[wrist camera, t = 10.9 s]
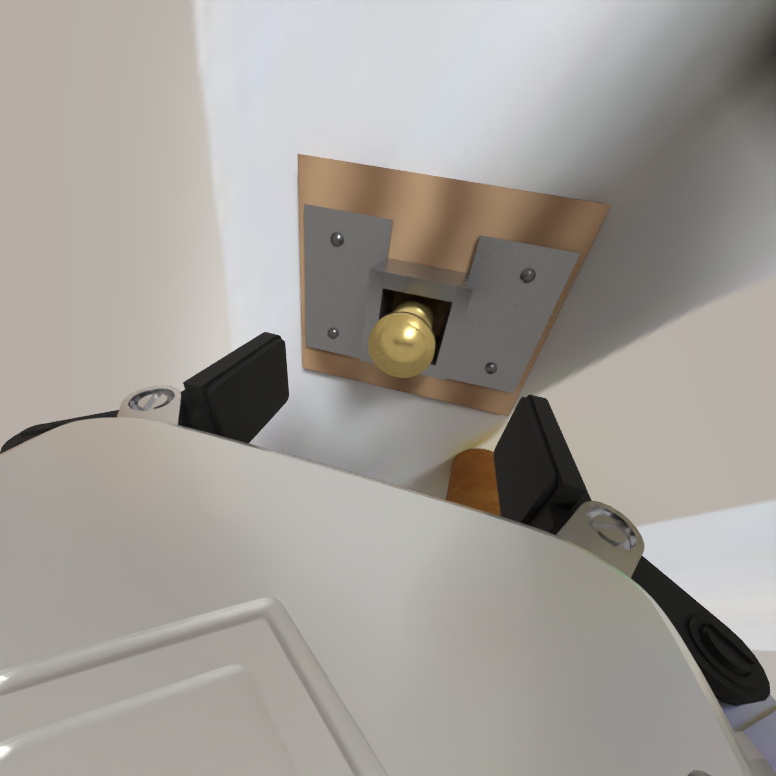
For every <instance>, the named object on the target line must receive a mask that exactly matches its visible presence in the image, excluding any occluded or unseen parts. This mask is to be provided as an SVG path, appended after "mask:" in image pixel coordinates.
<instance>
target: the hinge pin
mask: <svg viewBox="0 0 776 776" xmlns="http://www.w3.org/2000/svg"><path fill="white" fill-rule="evenodd" d="M436 308H437V301H436V299H434V298H429V297H424V296H419V295H414V294H409V293H406V294H405V296H404V297H403V299H402V300H401V302H400V303H399V304H398V306H397V307H396V309H395V310H394V312H393V313H390V314H388V315H386V316H384V317H383V318H381V319H380V320H379V321H378V322H377V323H376V325H375V326H374V327H373V329H372V331H371V333H370V335H369V340H368V349H369V353H370V356H371V358H372V360H373V362H374V363H375V365H376V366H377V367H378V368H379V369H380V370H382V371H383V372H384V373H386V374H388V375H391V376H394V377H398V378H409V377H413V376H416V375H418V374H420V373H422V372H423V371H424V370H425V369H426V368H427V367H428V366H429V365H430V363H431V361H432V360H433V357H434V352H435V337H434V333H433V331H432V327H433V322H434V318H435V313H436Z"/></svg>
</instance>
